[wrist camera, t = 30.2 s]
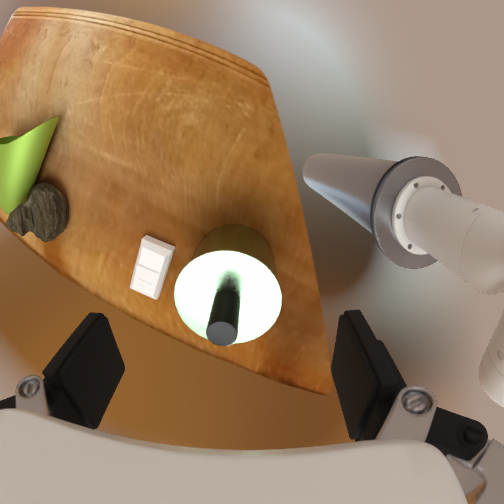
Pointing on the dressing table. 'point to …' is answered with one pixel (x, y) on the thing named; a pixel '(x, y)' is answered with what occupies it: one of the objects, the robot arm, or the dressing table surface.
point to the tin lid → (227, 296)
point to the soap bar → (151, 266)
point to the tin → (238, 243)
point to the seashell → (40, 213)
